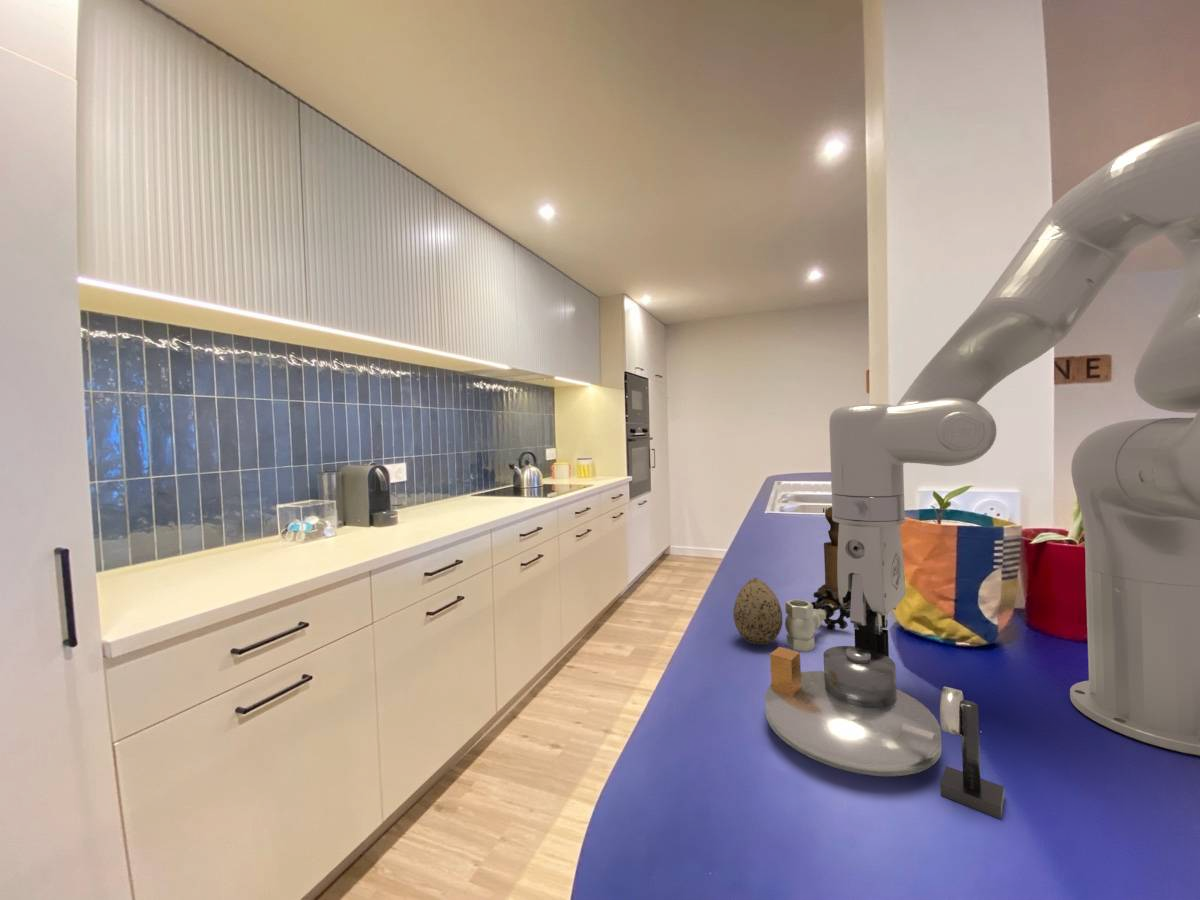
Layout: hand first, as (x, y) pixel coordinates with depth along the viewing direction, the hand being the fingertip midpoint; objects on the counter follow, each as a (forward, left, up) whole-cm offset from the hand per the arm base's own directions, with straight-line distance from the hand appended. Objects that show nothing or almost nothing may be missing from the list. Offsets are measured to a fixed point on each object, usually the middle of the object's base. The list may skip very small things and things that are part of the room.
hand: (872, 661), depth 56 cm
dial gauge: (-11, +12, -4) cm, 17 cm away
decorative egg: (+17, -6, -4) cm, 19 cm away
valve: (+11, -13, -5) cm, 18 cm away
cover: (0, +5, -1) cm, 6 cm away
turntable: (0, +10, -3) cm, 10 cm away
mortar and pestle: (+14, -31, -4) cm, 34 cm away
